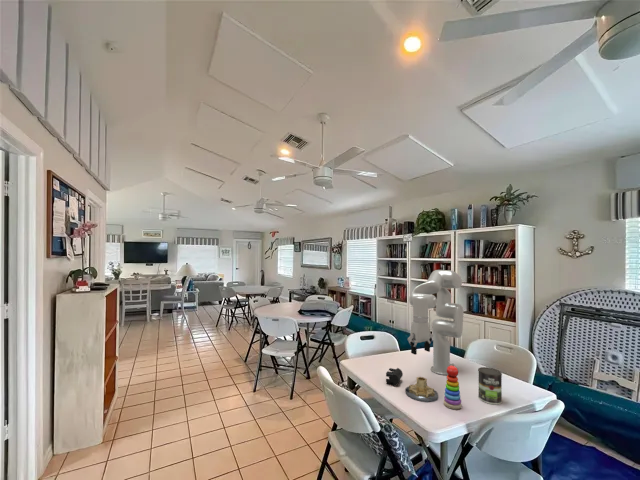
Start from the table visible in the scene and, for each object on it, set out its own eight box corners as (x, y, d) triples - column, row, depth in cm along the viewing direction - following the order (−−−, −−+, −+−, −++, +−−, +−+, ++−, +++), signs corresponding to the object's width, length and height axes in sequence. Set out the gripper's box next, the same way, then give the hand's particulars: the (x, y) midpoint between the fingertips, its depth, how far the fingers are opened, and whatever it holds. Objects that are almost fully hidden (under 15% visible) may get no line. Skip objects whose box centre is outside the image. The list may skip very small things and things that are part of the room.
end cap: (398, 387, 160) (398, 374, 160) (385, 384, 163) (385, 372, 164) (402, 380, 169) (402, 368, 169) (390, 378, 172) (390, 366, 172)
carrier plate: (420, 385, 163) (420, 378, 163) (445, 397, 149) (445, 390, 149) (398, 390, 156) (398, 383, 156) (422, 404, 142) (422, 396, 142)
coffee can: (504, 406, 141) (503, 376, 142) (479, 402, 145) (479, 372, 146) (499, 397, 151) (499, 368, 152) (477, 393, 155) (476, 365, 156)
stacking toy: (440, 401, 145) (440, 362, 146) (456, 401, 146) (455, 362, 147) (448, 410, 137) (448, 368, 138) (465, 409, 138) (465, 368, 139)
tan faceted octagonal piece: (421, 384, 161) (421, 372, 161) (439, 394, 150) (439, 381, 150) (403, 389, 155) (403, 376, 156) (422, 399, 144) (422, 386, 145)
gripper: (426, 316, 164) (426, 347, 163) (403, 319, 155) (403, 352, 155) (437, 319, 157) (437, 352, 156) (413, 322, 149) (413, 357, 148)
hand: (420, 352), depth 156 cm, fingers open, 9 cm apart
